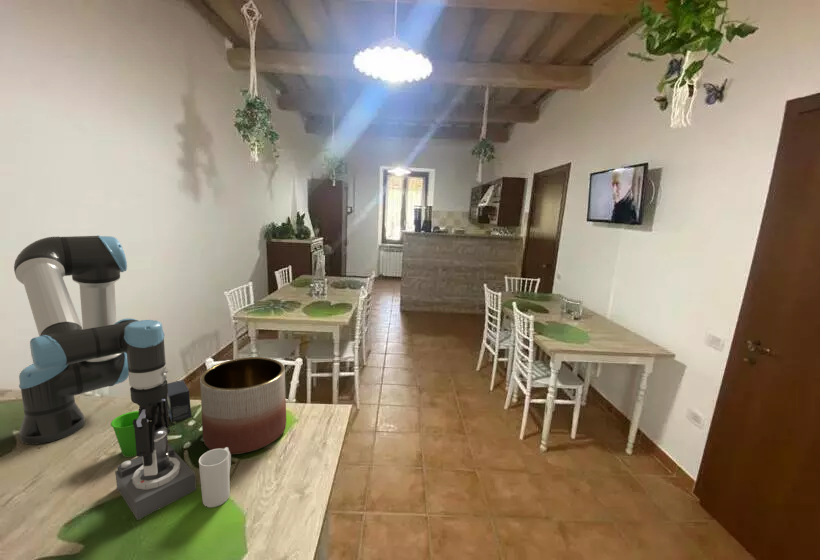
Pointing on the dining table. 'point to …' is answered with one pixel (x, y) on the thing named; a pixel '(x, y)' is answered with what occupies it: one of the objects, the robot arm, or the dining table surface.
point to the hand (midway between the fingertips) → (156, 465)
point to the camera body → (154, 484)
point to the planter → (243, 404)
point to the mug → (215, 476)
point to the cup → (126, 432)
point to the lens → (161, 447)
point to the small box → (178, 401)
